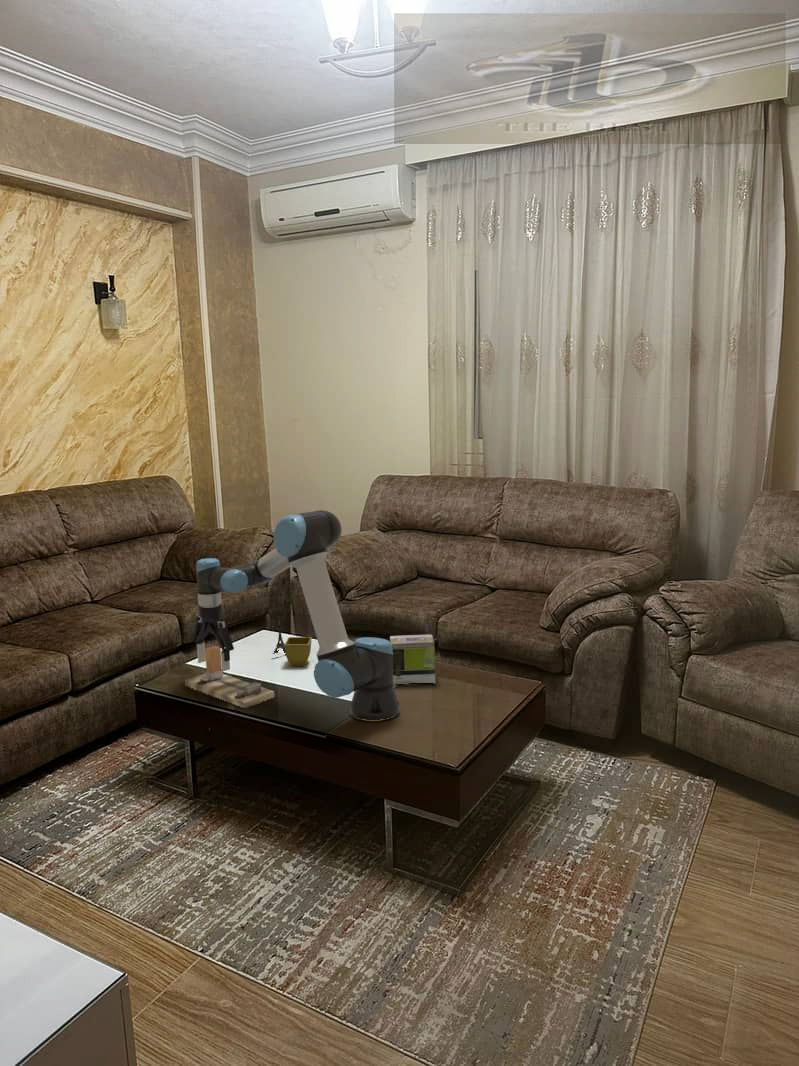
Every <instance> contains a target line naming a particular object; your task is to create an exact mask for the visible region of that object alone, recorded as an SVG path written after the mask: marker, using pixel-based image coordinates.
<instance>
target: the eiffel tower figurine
mask: <svg viewBox="0 0 799 1066" xmlns="http://www.w3.org/2000/svg"><path fill="white" fill-rule="evenodd" d="M278 621H279V622H278V638H277V643H276V645H275V646H276V647H275V649H274V650H275V651H274V650H273V652H274V653H273V652H272V654H273V655H276V654H275V653H278V651H279V650H278V651H277V649H283V651H284V653H286V651H285V643H286V642H284V640H283V637H282V629H281V622H280V621H281V620H278Z"/></svg>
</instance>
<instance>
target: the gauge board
mask: <svg viewBox="0 0 799 1066" xmlns="http://www.w3.org/2000/svg"><path fill="white" fill-rule="evenodd" d="M202 675H204V676H206V675H205V673H203V674H202ZM184 685H185V687H187V686H188V688H189V687H190V689H192V688H193V689H192V690H195V691H197V690H198V692H200V691H201V692H200V693H202V692H203V694H205V693H206V695H208V694H209V695H208V696H210V695H211V697H213V698H216V699H218V698H219V700H221V699H222V700H221V701H223V700H224V702H226V701H227V703H229V702H230V703H229V704H231V703H232V704H231V705H234V706H237V707H239V706H240V707H239V708H242V709H244V708H245V709H247V708H251V707H253V706H256V705H258V704H261V703H264V702H266V701H269V700H271V698H272V699H274V698H275V691H274V690H271V689H268V688H265V687H262V683H259V682H256V681H253V682H251V683H250V682H248V681H245V680H242V679H239V678H237V677H233V676H230V675H228V674H225V673H223V677H221V678H218V679H215V680H212V681H211V680H208V679H207V680H204V682H202V683H201V682H200V675H197V676H194V677H191V678H188V679H185V680H184ZM273 697H274V698H273ZM268 699H269V700H268ZM263 701H264V702H263ZM250 706H251V707H250Z"/></svg>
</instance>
